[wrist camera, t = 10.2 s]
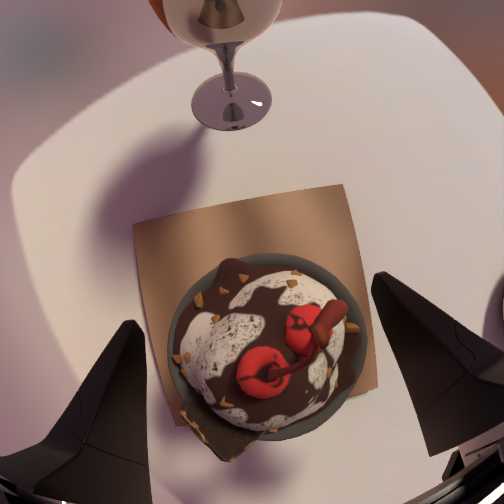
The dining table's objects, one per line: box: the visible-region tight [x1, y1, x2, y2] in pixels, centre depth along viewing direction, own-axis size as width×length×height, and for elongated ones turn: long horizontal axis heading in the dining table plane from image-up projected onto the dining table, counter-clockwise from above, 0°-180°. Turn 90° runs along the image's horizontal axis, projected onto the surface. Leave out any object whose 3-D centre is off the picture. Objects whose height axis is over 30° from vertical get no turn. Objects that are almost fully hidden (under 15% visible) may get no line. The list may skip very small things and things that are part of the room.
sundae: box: [167, 253, 368, 462], centre depth 11 cm, size 7×7×15 cm
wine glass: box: [148, 0, 284, 130], centre depth 14 cm, size 8×8×15 cm
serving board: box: [133, 184, 378, 426], centre depth 19 cm, size 16×16×1 cm
